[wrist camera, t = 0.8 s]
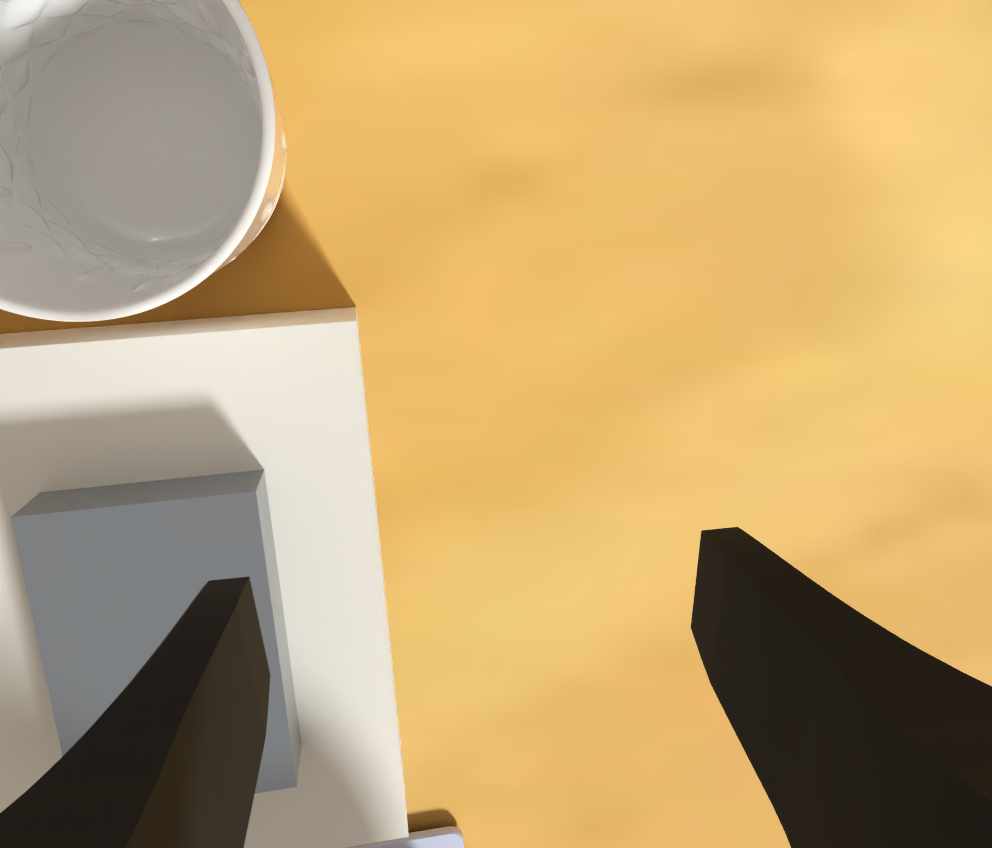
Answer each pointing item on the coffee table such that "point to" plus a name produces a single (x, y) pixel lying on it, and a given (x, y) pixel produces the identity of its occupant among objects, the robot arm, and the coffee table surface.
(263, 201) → the white cup
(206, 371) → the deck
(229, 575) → the gray rectangular block
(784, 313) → the coffee table surface
